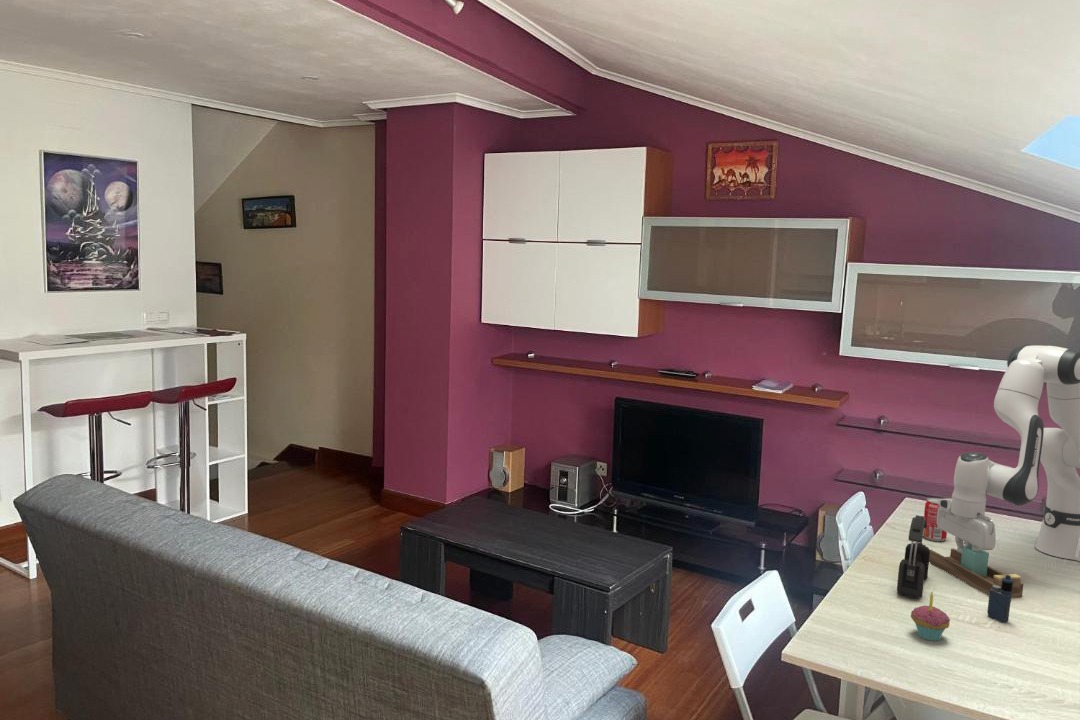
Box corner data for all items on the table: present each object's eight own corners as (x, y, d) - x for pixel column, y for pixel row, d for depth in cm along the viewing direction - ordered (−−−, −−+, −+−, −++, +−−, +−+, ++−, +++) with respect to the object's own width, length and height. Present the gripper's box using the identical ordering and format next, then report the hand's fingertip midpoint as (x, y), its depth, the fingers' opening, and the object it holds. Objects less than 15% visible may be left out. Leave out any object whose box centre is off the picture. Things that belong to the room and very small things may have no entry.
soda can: (950, 542, 264) (954, 504, 262) (927, 542, 264) (931, 503, 262) (939, 535, 271) (943, 497, 269) (918, 534, 271) (921, 496, 269)
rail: (952, 560, 248) (954, 541, 248) (1022, 596, 222) (1024, 576, 222) (926, 561, 246) (928, 543, 246) (993, 598, 220) (996, 578, 220)
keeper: (973, 569, 237) (976, 543, 236) (986, 576, 232) (989, 549, 231) (959, 570, 236) (962, 544, 235) (972, 577, 231) (975, 550, 230)
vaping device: (1004, 623, 205) (1009, 578, 203) (984, 615, 210) (989, 570, 208) (1010, 622, 206) (1016, 576, 205) (991, 613, 211) (996, 569, 209)
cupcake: (945, 647, 191) (950, 599, 189) (906, 637, 195) (911, 590, 194) (949, 634, 198) (954, 587, 197) (911, 624, 203) (916, 578, 201)
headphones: (904, 570, 238) (910, 505, 236) (928, 575, 235) (935, 509, 233) (895, 597, 219) (902, 525, 217) (920, 602, 216) (928, 530, 214)
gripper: (1004, 519, 227) (998, 566, 228) (953, 497, 246) (948, 541, 248) (984, 520, 225) (979, 567, 227) (934, 498, 245) (930, 542, 247)
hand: (962, 553), depth 238 cm, fingers closed
